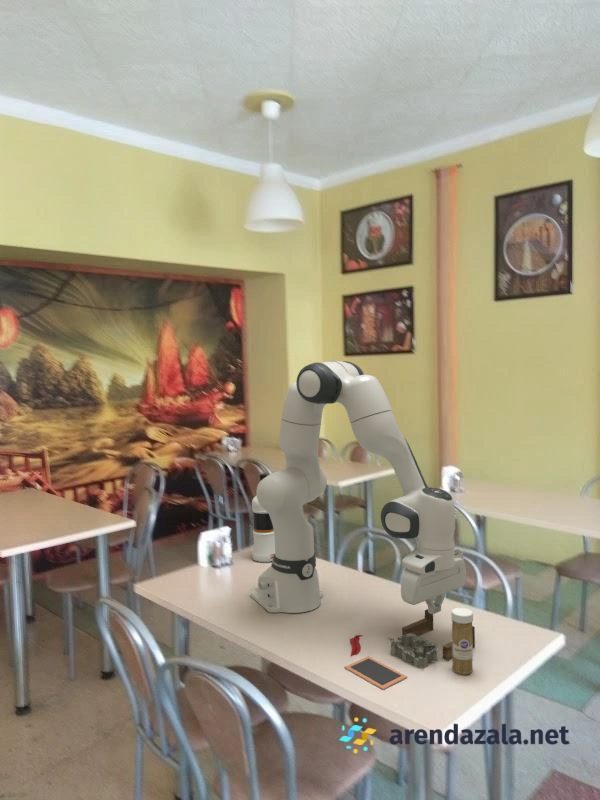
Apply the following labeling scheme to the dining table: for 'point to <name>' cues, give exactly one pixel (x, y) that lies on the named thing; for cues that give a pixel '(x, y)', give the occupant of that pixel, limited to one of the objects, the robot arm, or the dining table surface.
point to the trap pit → (376, 672)
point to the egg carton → (419, 647)
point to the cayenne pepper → (355, 645)
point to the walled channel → (427, 625)
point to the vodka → (262, 532)
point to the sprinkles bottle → (462, 640)
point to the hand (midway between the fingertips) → (434, 612)
